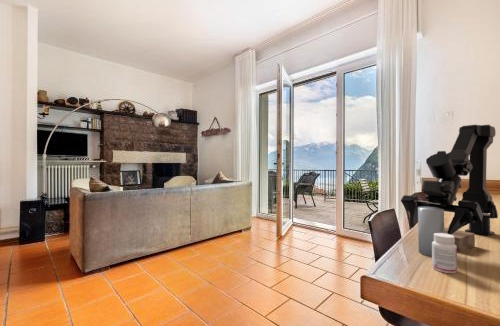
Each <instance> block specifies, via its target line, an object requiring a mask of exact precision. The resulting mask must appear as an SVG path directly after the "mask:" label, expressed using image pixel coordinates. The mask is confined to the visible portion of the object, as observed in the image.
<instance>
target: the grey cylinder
mask: <svg viewBox="0 0 500 326" xmlns="http://www.w3.org/2000/svg"><path fill="white" fill-rule="evenodd" d="M444 228H445V211H444V209H442V208H438V207H427V206H422V207H418V220H417V234H418V235H417V236H418V237H417V238H418V239H417V240H418V252H419V254H421V255H423V256H426V257H431V258H432V242H433V241H435V240H434V233H444Z"/></svg>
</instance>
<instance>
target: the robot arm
mask: <svg viewBox="0 0 500 326" xmlns="http://www.w3.org/2000/svg"><path fill="white" fill-rule="evenodd" d="M496 132H497V131H496V128H495V126H492V125H490V124H482V125H481V124H469V125H467V124H466V125H462V126H460V127H459V129H458V135H457V138H456V140H455V142H454V144H453V146H452V148H451V150H450V152H448V153H447V152H446V151H445V150H441V151H439V150H438V151H437V152H436V153H435V154H431V155H430V156H428V157H427V158H426V159H425V160H426V161H425V163H426V166H427V168H428V169H429V170H430V172H431V175H432V177H433V178H435V179H436V181H435V180H423V182H422V185H421V186H422V187H421V191H420V192H421V193H424V198H425V199H426V200H427V201H426V200H420V199H419V197H418V195H410V194H409V195H408V194H406V195H405V194H404V195H402V197H401V199H400V202H401V204H402V205H403V207H404V209H405V210H406V212H408V213H409V226H410V227H411V228H412V229H413V228H414V227H415V226H416V224H417V223H418V207H422V206H427V207H438V208H442V209H444V212H447V213H448V212H449V213H454V214H453V217H452V220H451V221H450V224H449V225H448V227H447V228H448V232H447V233H448V234H450V235H451V234H453V233H454V232H456V231H457V230H460V229H461V228H464V227H466V226H467V225H468V228H467V229H465V230H464V232H470V233H475V234H477V235H481V236H482V235H483V236H490V235H494V234H495V231H491V219H492V220H493V219H498V218H499V214H498V210H497V206H496V204H495V203H494V201H493V197H492V195H491V193H490V192H489V191H488V189H487V162H488V161H487V156H488V154H487V151H488V149H489V148H490V146H491V145H492V144H493V142H494V138H495V137H496V134H497V133H496ZM468 175H469V176H468ZM460 176H463V177H465V176H468V188H467V189H466V190H465V191H463V192H462V199H461V200H458V202H457V199H458V197H457V193H458V191H459V189H461V188H462V184H461V182H462V178H461V177H460ZM454 202H457V205H455V204H454Z"/></svg>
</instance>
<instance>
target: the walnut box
mask: <svg viewBox="0 0 500 326" xmlns="http://www.w3.org/2000/svg"><path fill="white" fill-rule="evenodd" d="M448 228H449V227H444V233H445V234H448V233H447V232H448ZM475 234H476V233H470V232H465V230H464V231H463V230H460V229H458V230H457V231H456V232H454V233H453V234H451V235H453V236H454V237H455V243H454V244H455V245H456V246H457V253H462V252H464V251H466V250H468V249H472V248H475V247H476V246H475V243H476V241H475V236H476V235H475Z"/></svg>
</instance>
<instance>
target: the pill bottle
mask: <svg viewBox="0 0 500 326" xmlns="http://www.w3.org/2000/svg"><path fill="white" fill-rule="evenodd" d="M434 240H435V241H433V242H432V257H431V264H432V265H431V266H432V268H433V269H435V270H436V271H439V272H441V273H446V274H456V273H457V272H458V254H457V253H458V252H457V246H456V245H455V244H454V243H455V237H454V236H453V235H450V234H445V233H434Z"/></svg>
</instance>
